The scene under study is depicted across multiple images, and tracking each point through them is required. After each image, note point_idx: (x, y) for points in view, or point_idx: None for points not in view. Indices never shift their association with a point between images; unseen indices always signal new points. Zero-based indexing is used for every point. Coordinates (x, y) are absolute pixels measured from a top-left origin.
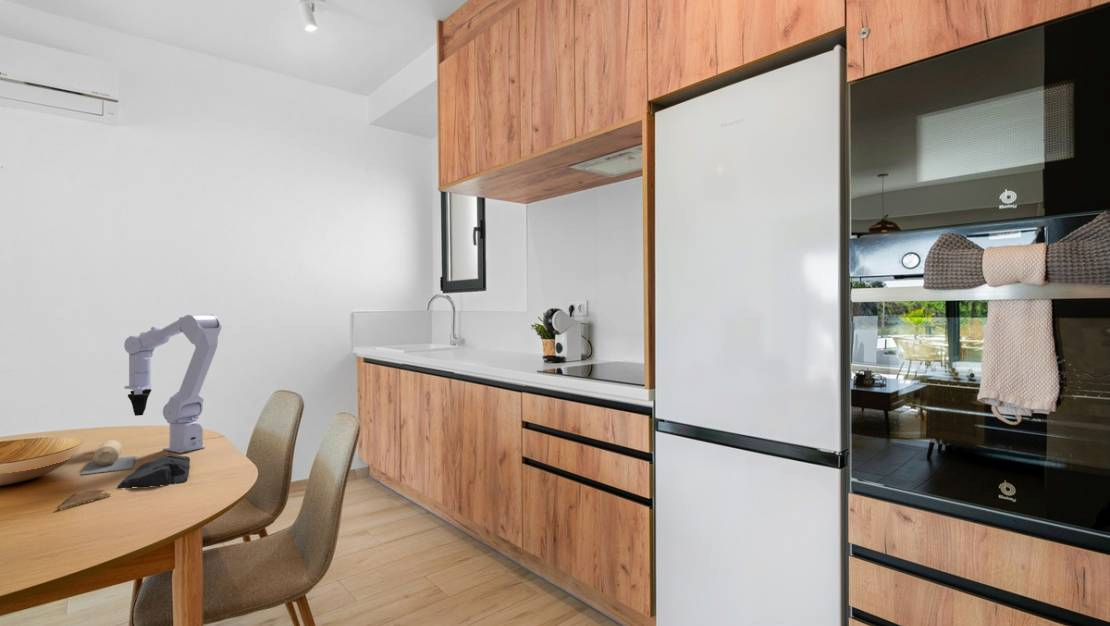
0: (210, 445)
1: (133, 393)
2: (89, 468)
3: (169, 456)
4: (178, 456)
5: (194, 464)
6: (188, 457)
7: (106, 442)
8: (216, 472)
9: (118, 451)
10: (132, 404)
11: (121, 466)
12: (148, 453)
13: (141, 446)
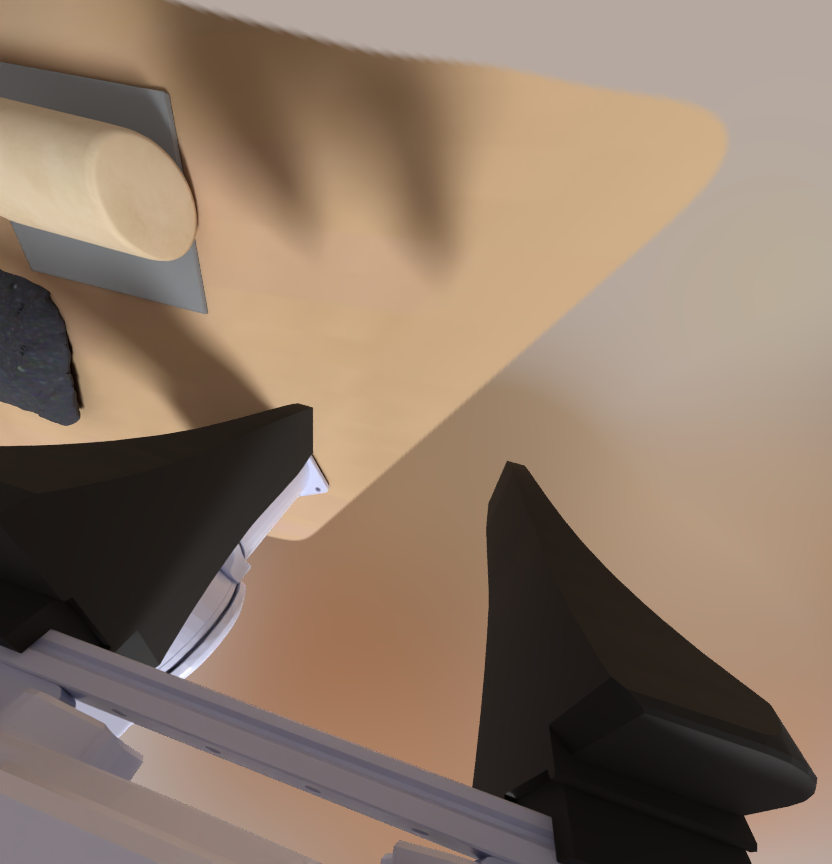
0: (283, 516)
1: (574, 664)
2: (27, 95)
3: (17, 381)
4: (38, 403)
5: (79, 423)
6: (57, 422)
7: (36, 158)
8: (8, 433)
9: (38, 228)
10: (170, 435)
11: (55, 239)
12: (252, 362)
13: (399, 367)
